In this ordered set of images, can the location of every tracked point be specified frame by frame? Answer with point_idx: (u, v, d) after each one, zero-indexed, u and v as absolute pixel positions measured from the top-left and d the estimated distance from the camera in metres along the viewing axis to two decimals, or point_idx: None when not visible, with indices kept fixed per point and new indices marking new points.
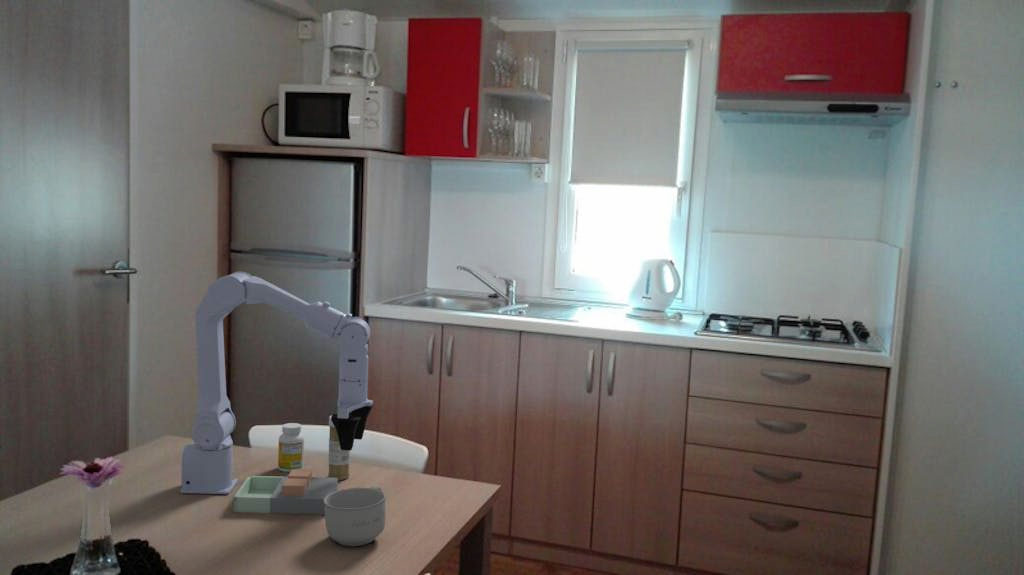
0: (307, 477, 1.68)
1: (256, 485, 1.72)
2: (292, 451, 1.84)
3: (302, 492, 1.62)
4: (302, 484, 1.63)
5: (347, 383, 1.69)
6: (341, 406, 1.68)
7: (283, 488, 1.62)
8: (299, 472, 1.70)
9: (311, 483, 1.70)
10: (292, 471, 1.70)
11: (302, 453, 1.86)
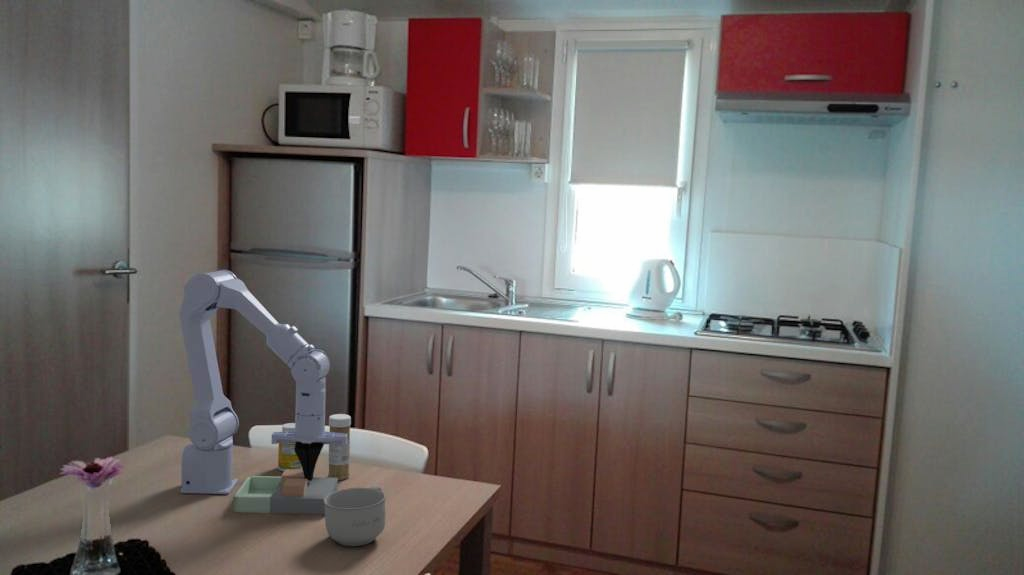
0: (300, 477, 1.68)
1: (256, 485, 1.72)
2: (292, 451, 1.84)
3: (302, 492, 1.62)
4: (302, 484, 1.63)
5: None
6: (286, 433, 1.69)
7: (283, 488, 1.62)
8: (292, 472, 1.69)
9: (311, 483, 1.70)
10: (285, 471, 1.70)
11: None
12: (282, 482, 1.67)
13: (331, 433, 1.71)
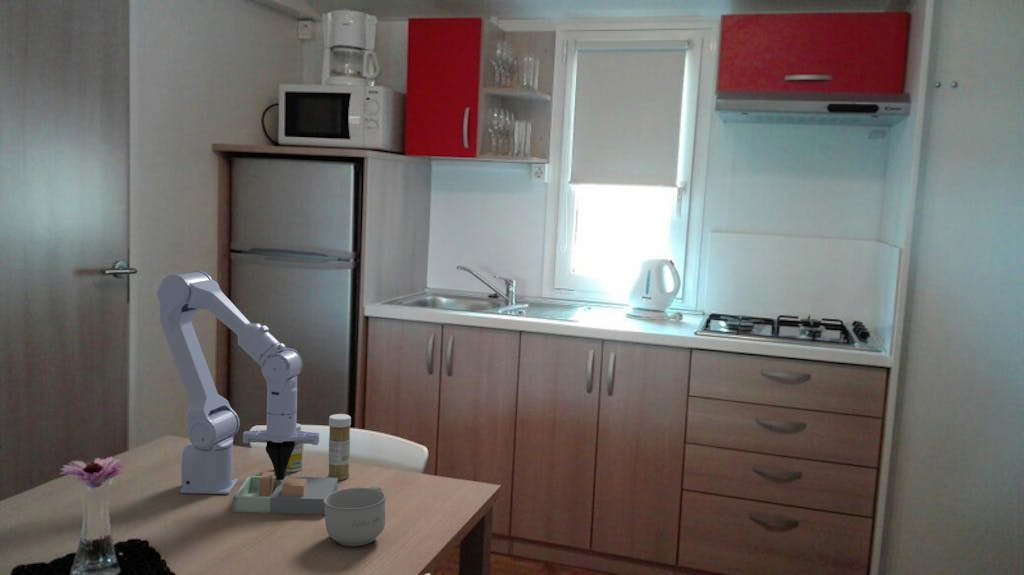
0: (260, 479, 1.67)
1: (256, 485, 1.72)
2: None
3: (302, 492, 1.62)
4: (302, 484, 1.63)
5: None
6: (258, 432, 1.69)
7: (283, 488, 1.62)
8: None
9: (311, 483, 1.70)
10: None
11: (302, 453, 1.86)
12: None
13: (303, 432, 1.70)
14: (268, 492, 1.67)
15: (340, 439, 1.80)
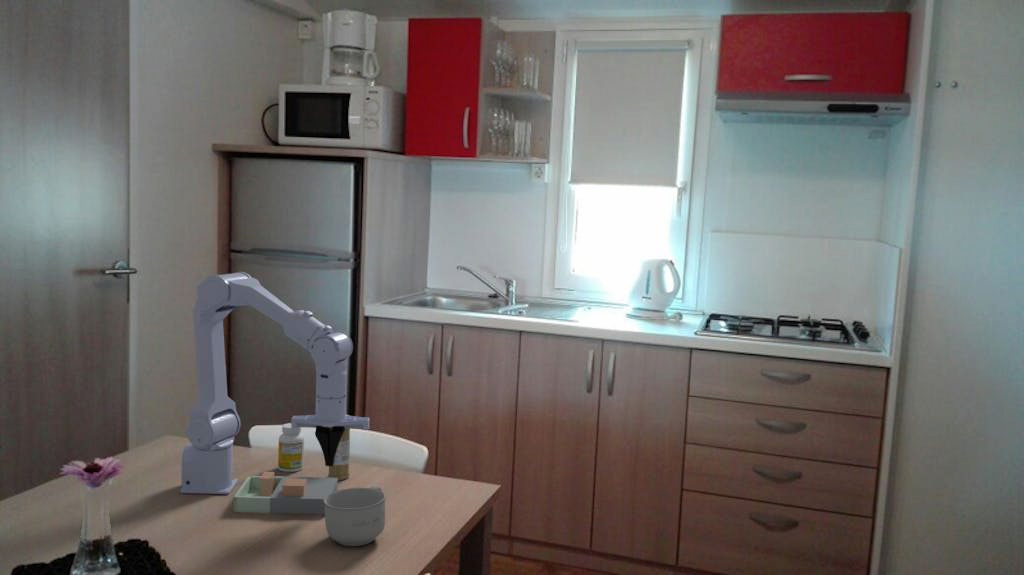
0: (260, 479, 1.67)
1: (256, 485, 1.72)
2: (292, 451, 1.84)
3: (302, 492, 1.62)
4: (302, 484, 1.63)
5: None
6: (306, 417, 1.64)
7: (283, 488, 1.62)
8: None
9: (311, 483, 1.70)
10: None
11: (302, 453, 1.86)
12: None
13: (352, 417, 1.65)
14: (268, 492, 1.67)
15: (340, 439, 1.80)
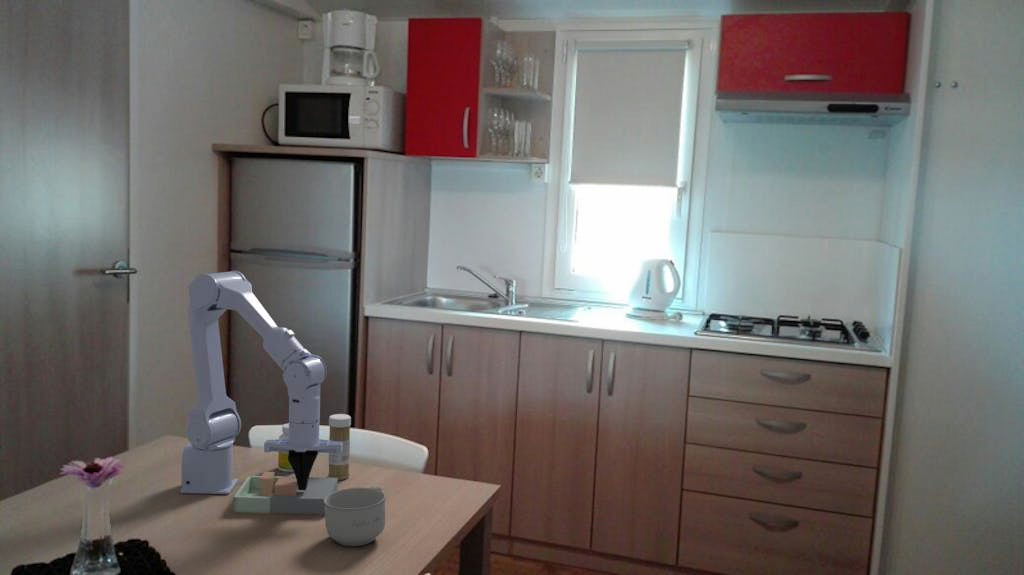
0: (260, 479, 1.67)
1: (256, 485, 1.72)
2: None
3: (294, 492, 1.62)
4: (294, 484, 1.63)
5: None
6: (279, 441, 1.64)
7: (275, 488, 1.62)
8: None
9: (311, 483, 1.70)
10: None
11: None
12: None
13: (326, 441, 1.65)
14: (268, 492, 1.67)
15: (340, 439, 1.80)
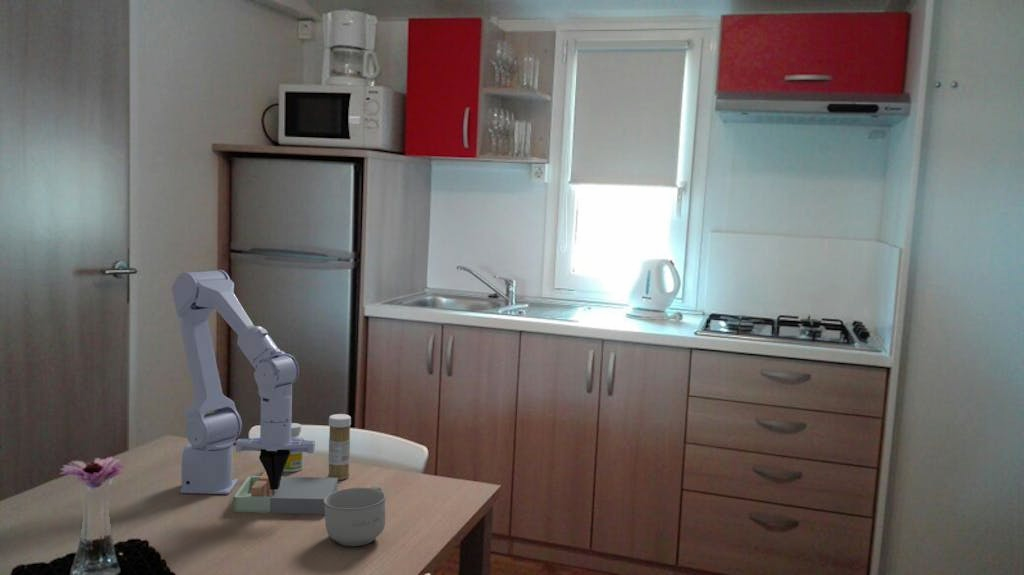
0: (260, 479, 1.67)
1: None
2: None
3: (258, 489, 1.62)
4: None
5: None
6: (251, 440, 1.64)
7: None
8: None
9: (311, 483, 1.70)
10: None
11: (302, 453, 1.86)
12: None
13: (298, 440, 1.65)
14: (268, 492, 1.67)
15: (340, 439, 1.80)
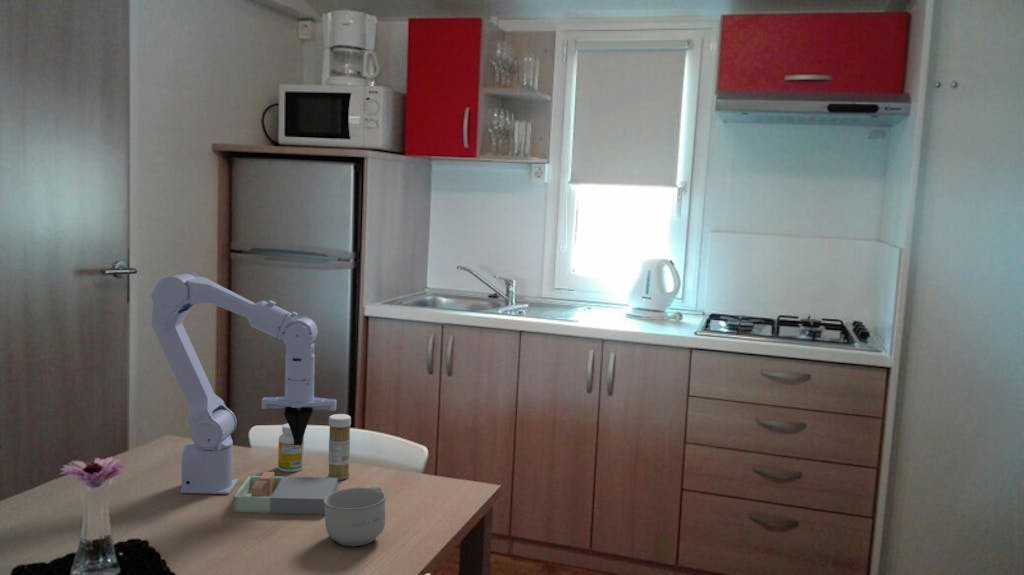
0: (260, 479, 1.67)
1: None
2: (292, 451, 1.84)
3: (258, 489, 1.62)
4: None
5: None
6: None
7: None
8: None
9: (311, 483, 1.70)
10: None
11: (302, 453, 1.86)
12: None
13: (320, 399, 1.73)
14: (268, 492, 1.67)
15: (340, 439, 1.80)
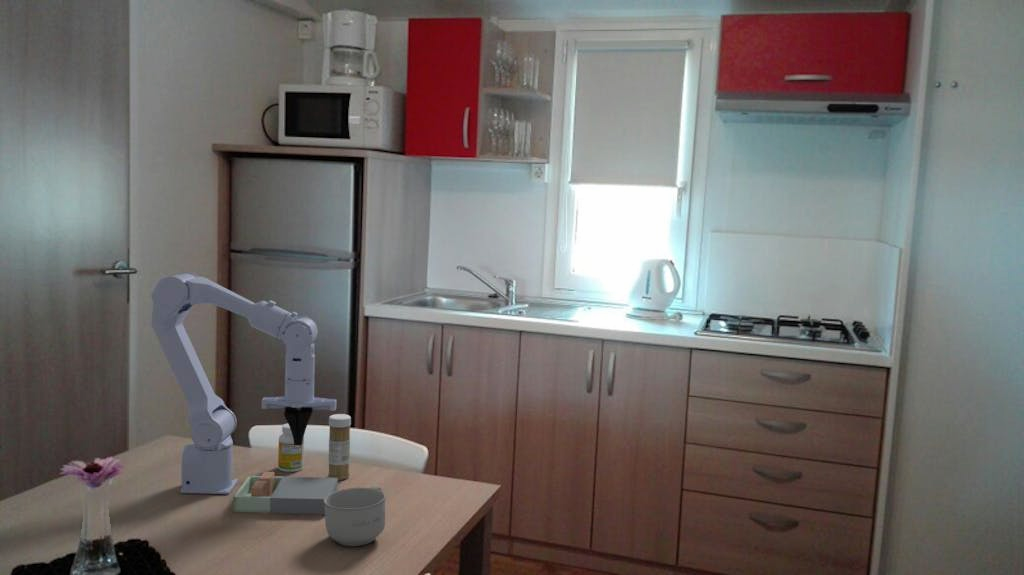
0: (260, 479, 1.67)
1: None
2: (292, 451, 1.84)
3: (258, 489, 1.62)
4: None
5: None
6: None
7: None
8: None
9: (311, 483, 1.70)
10: None
11: (302, 453, 1.86)
12: None
13: (320, 399, 1.73)
14: (268, 492, 1.67)
15: (340, 439, 1.80)
